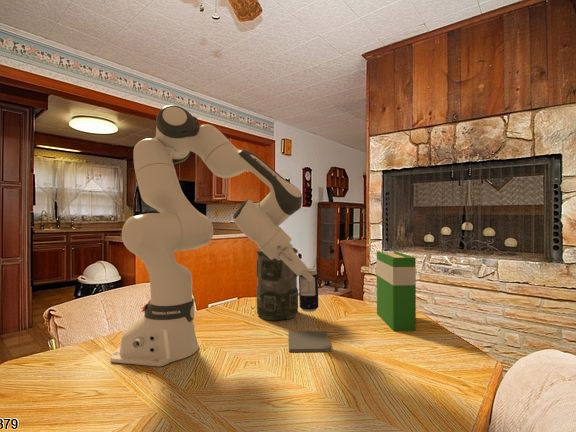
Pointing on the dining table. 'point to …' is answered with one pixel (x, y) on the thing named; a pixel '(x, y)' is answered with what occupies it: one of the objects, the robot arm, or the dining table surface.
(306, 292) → the beverage can
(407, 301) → the hardback book
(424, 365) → the dining table surface
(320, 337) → the mat
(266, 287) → the canister
